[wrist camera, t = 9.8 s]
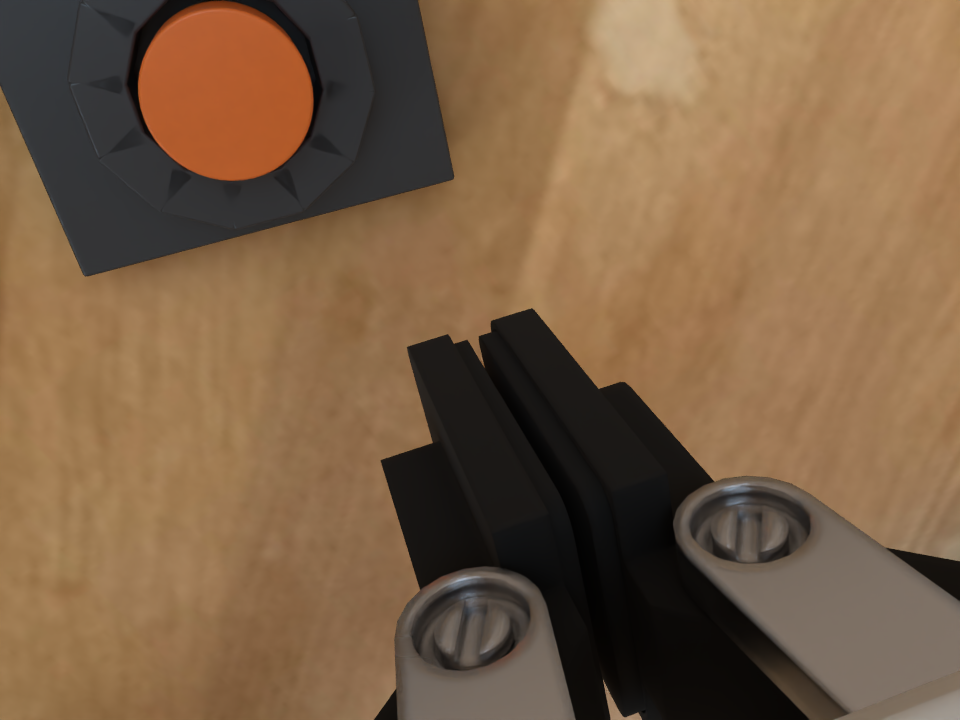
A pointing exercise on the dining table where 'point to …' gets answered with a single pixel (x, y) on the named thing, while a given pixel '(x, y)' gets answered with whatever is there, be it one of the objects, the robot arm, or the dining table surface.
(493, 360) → the robot arm
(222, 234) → the switch box
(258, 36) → the button
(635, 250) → the dining table surface
